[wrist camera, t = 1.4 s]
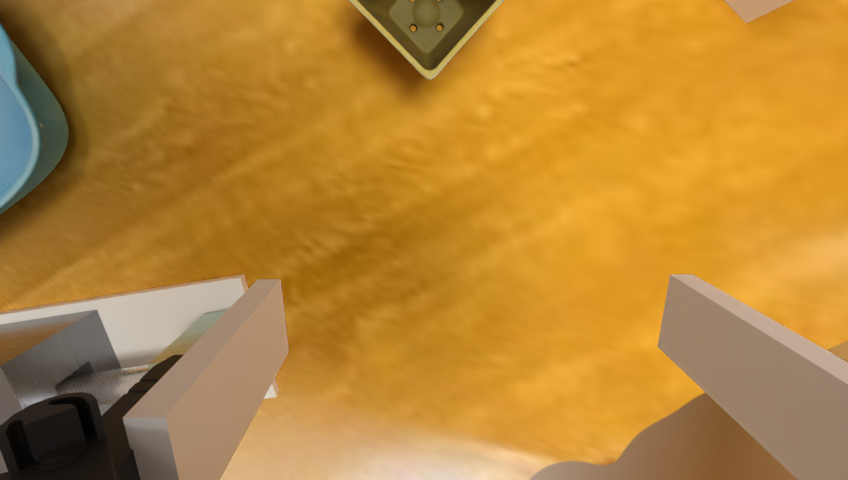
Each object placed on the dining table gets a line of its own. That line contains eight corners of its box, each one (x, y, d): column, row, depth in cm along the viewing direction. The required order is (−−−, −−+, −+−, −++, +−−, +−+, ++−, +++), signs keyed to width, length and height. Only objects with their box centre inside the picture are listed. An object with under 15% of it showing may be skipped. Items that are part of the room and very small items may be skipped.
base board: (244, 273, 42) (239, 277, 41) (279, 391, 46) (276, 397, 45) (1, 311, 43) (-8, 316, 42) (56, 424, 46) (48, 430, 45)
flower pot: (426, 92, 37) (429, 83, 29) (353, 17, 36) (333, -16, 27) (497, 13, 36) (523, -21, 27) (424, -69, 34) (426, -133, 25)
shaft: (243, 307, 41) (197, 357, 33) (264, 376, 43) (226, 440, 35) (71, 333, 42) (-19, 389, 33) (101, 400, 44) (23, 469, 35)
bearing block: (96, 309, 42) (0, 366, 32) (138, 409, 45) (62, 488, 35) (1, 324, 42) (-123, 384, 32) (49, 422, 45) (-51, 504, 36)
